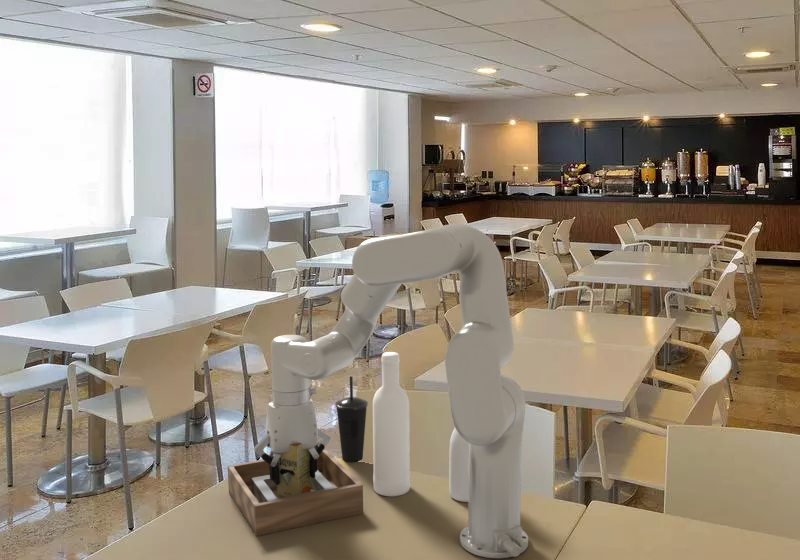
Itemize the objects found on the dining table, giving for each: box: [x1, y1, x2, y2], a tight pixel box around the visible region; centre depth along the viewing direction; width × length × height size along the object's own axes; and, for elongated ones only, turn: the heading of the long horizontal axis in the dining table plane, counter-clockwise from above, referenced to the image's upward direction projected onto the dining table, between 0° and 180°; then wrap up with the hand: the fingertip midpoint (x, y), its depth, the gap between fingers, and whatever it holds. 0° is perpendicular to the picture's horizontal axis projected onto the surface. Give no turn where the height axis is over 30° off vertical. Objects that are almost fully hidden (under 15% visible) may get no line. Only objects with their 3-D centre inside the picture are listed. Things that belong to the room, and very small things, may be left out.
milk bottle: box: [448, 427, 469, 503], centre depth 166 cm, size 8×8×20 cm
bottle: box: [372, 351, 411, 497], centre depth 168 cm, size 8×8×30 cm
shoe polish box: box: [277, 443, 311, 498], centre depth 163 cm, size 5×5×12 cm
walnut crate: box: [227, 448, 364, 537], centre depth 164 cm, size 22×22×6 cm
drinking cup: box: [335, 376, 369, 463], centre depth 187 cm, size 8×8×20 cm
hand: (293, 478), depth 164 cm, fingers closed on shoe polish box, 7 cm apart
